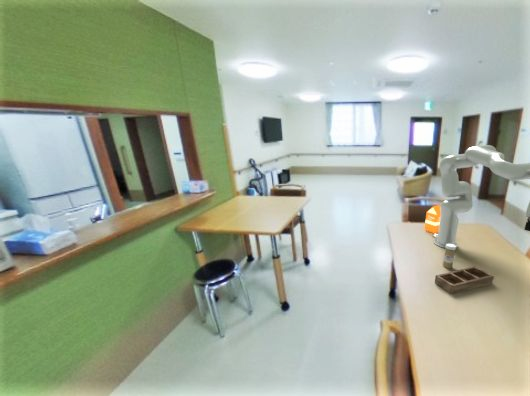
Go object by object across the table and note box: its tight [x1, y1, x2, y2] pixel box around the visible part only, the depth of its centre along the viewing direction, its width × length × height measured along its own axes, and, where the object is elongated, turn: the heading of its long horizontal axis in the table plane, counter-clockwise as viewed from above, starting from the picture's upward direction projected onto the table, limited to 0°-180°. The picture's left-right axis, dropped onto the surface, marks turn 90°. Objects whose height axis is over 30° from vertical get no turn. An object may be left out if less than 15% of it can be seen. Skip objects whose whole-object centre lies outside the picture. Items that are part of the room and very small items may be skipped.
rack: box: [434, 265, 495, 295], centre depth 117 cm, size 9×25×4 cm, turn 103°
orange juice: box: [424, 204, 441, 234], centre depth 173 cm, size 8×9×20 cm
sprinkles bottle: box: [442, 244, 457, 269], centre depth 130 cm, size 5×5×13 cm
